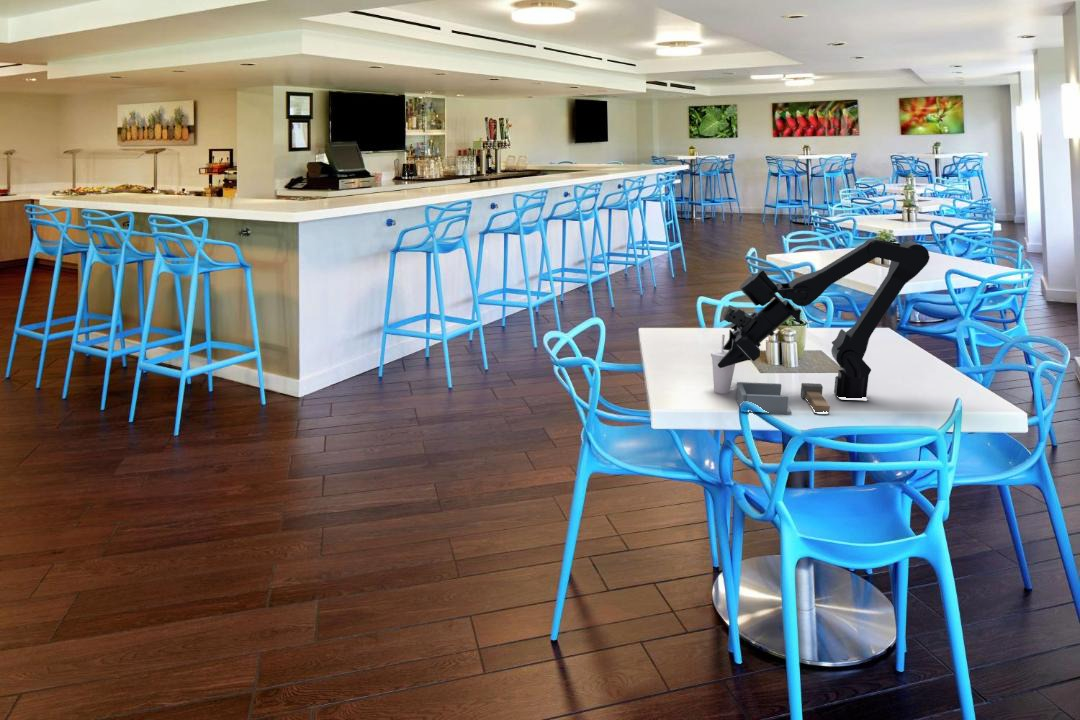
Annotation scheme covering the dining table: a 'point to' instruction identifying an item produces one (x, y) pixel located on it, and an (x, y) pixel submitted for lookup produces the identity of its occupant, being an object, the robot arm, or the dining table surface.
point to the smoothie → (721, 371)
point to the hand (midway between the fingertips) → (717, 362)
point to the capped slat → (814, 396)
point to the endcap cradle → (763, 396)
